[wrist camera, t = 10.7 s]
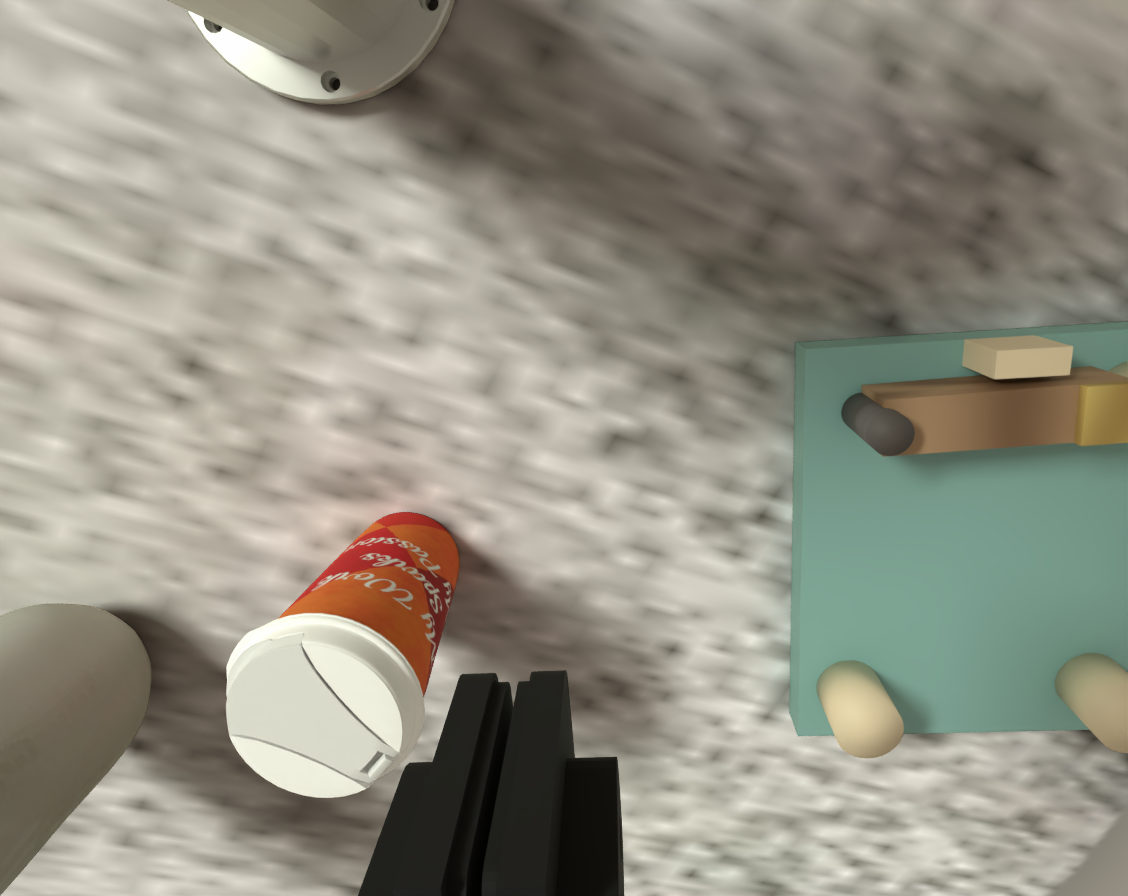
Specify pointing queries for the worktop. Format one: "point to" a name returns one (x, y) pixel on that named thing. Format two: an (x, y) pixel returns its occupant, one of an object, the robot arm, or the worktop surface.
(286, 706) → the paper cup
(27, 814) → the grey ceramic bottle
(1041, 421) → the folding leg
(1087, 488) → the stool seat
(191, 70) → the worktop surface
